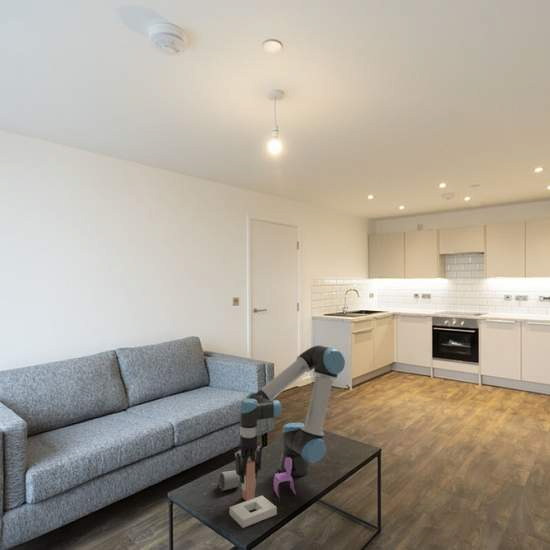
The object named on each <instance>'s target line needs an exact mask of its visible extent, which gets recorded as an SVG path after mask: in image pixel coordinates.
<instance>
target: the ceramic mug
mask: <svg viewBox="0 0 550 550" xmlns="http://www.w3.org/2000/svg"><path fill="white" fill-rule="evenodd" d="M218 481H219V482H218V483H219V488H220V489H221V491H223V492H224V491H227V490H232V489H236V488H238V487H239V486H240V484H241V482H240V476H239V475H237V474H236V470H229V471H222V472H220V473H219V477H218Z"/></svg>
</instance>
